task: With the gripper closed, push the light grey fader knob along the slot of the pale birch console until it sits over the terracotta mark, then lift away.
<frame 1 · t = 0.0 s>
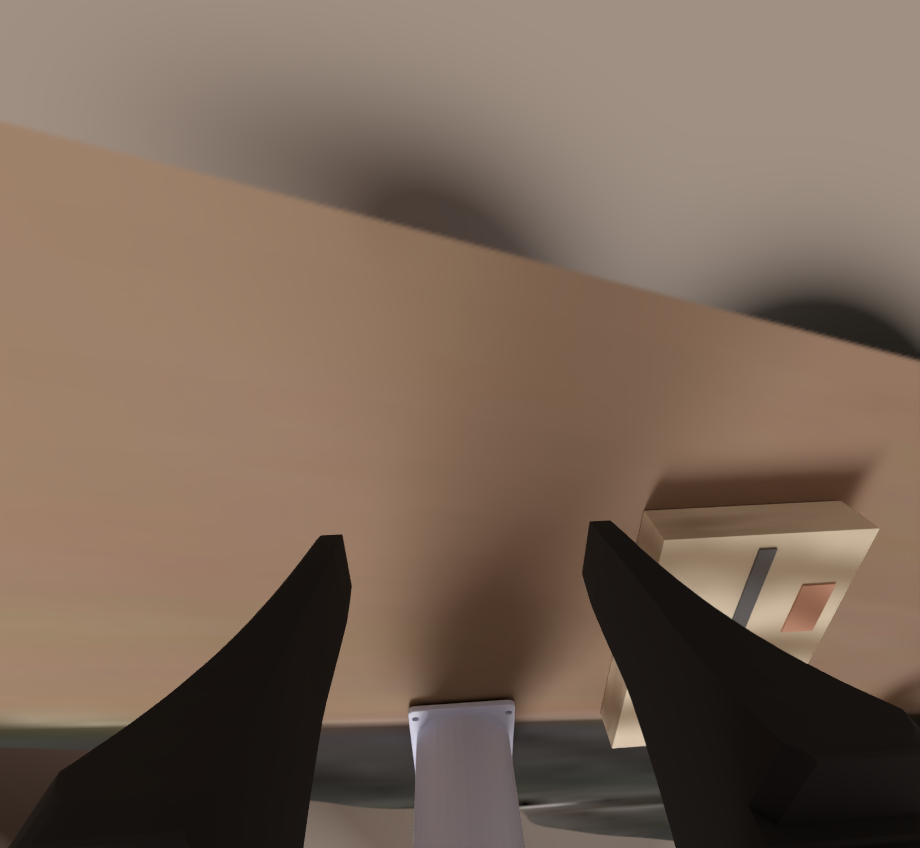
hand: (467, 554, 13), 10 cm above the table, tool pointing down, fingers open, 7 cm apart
console: (703, 621, 30), on the table
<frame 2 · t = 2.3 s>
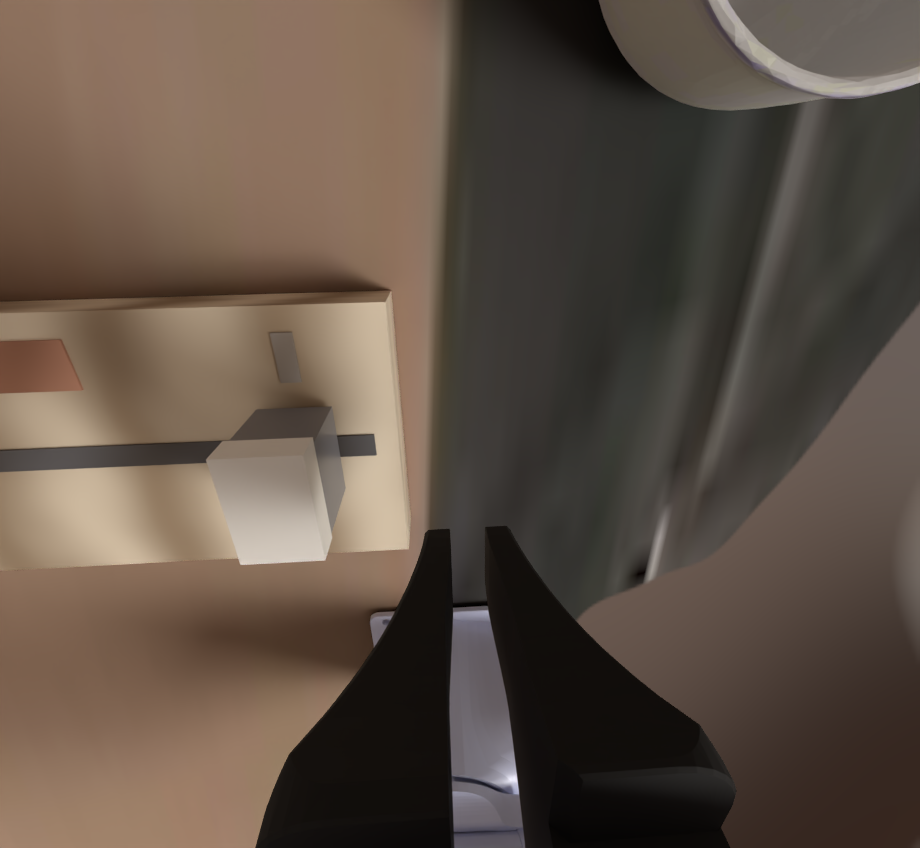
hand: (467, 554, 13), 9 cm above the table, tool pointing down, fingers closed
console: (191, 426, 21), on the table
fader: (288, 478, 16), point 5 cm above the table, slide at 0.0 cm
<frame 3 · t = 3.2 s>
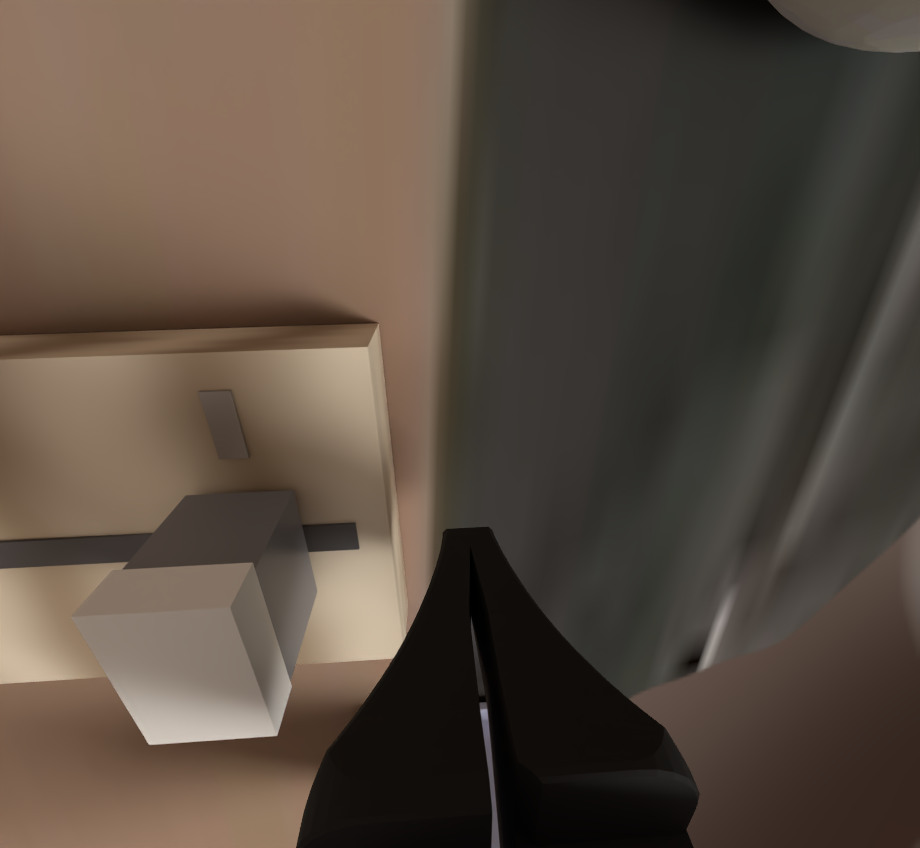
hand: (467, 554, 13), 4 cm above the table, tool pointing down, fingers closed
console: (113, 500, 15), on the table
fader: (226, 603, 11), point 5 cm above the table, slide at 0.0 cm
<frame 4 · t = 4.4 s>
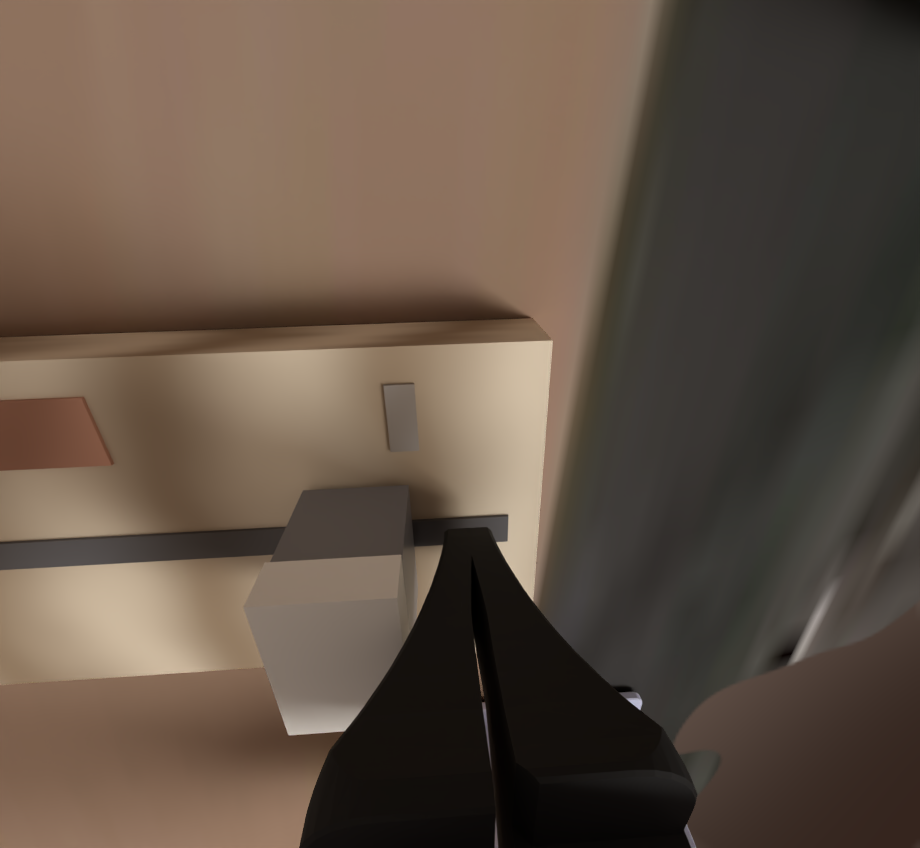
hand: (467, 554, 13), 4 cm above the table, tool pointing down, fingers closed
console: (248, 495, 16), on the table
fader: (353, 596, 11), point 5 cm above the table, slide at 1.5 cm, touching gripper
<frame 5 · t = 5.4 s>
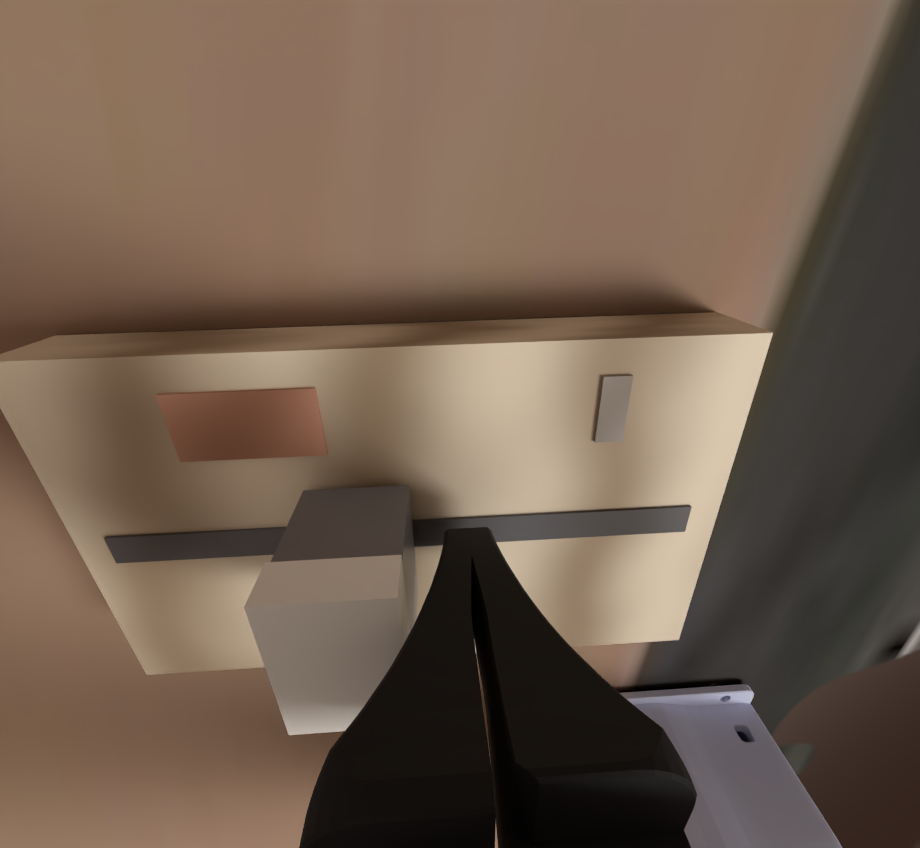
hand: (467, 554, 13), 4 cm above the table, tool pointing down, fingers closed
console: (410, 486, 16), on the table
fader: (353, 596, 11), point 5 cm above the table, slide at 7.3 cm, touching gripper
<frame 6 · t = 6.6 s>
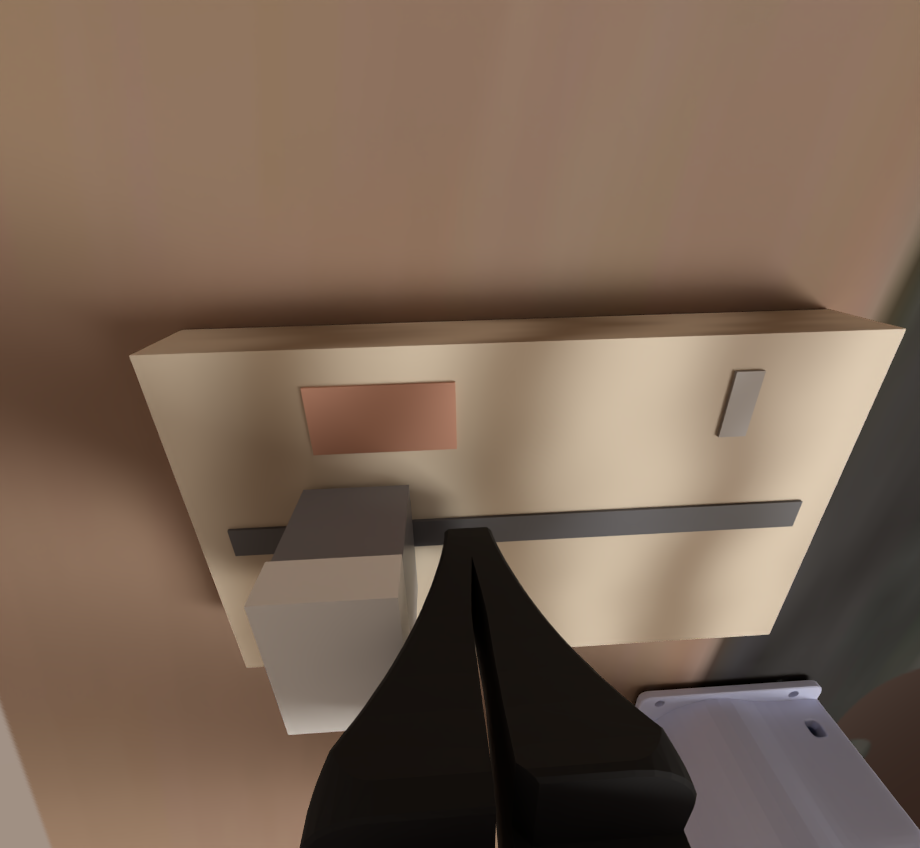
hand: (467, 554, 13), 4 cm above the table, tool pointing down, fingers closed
console: (509, 481, 16), on the table
fader: (353, 596, 11), point 5 cm above the table, slide at 10.9 cm, touching gripper
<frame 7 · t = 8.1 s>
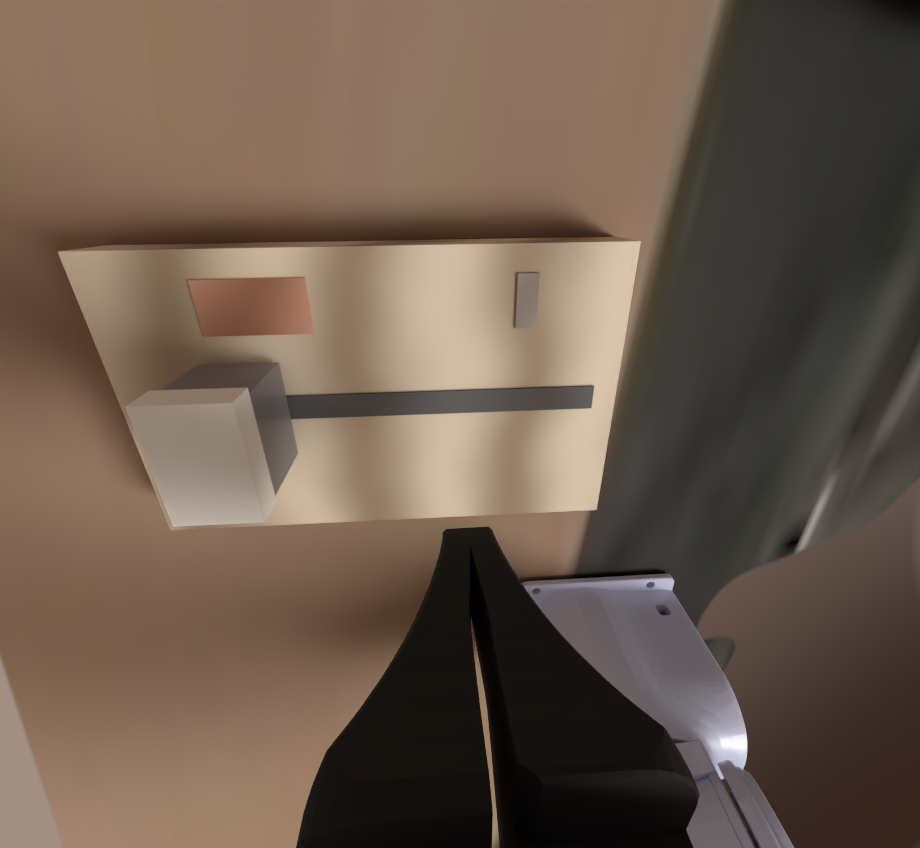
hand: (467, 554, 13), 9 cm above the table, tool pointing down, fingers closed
console: (382, 381, 20), on the table
fader: (228, 436, 15), point 5 cm above the table, slide at 10.9 cm
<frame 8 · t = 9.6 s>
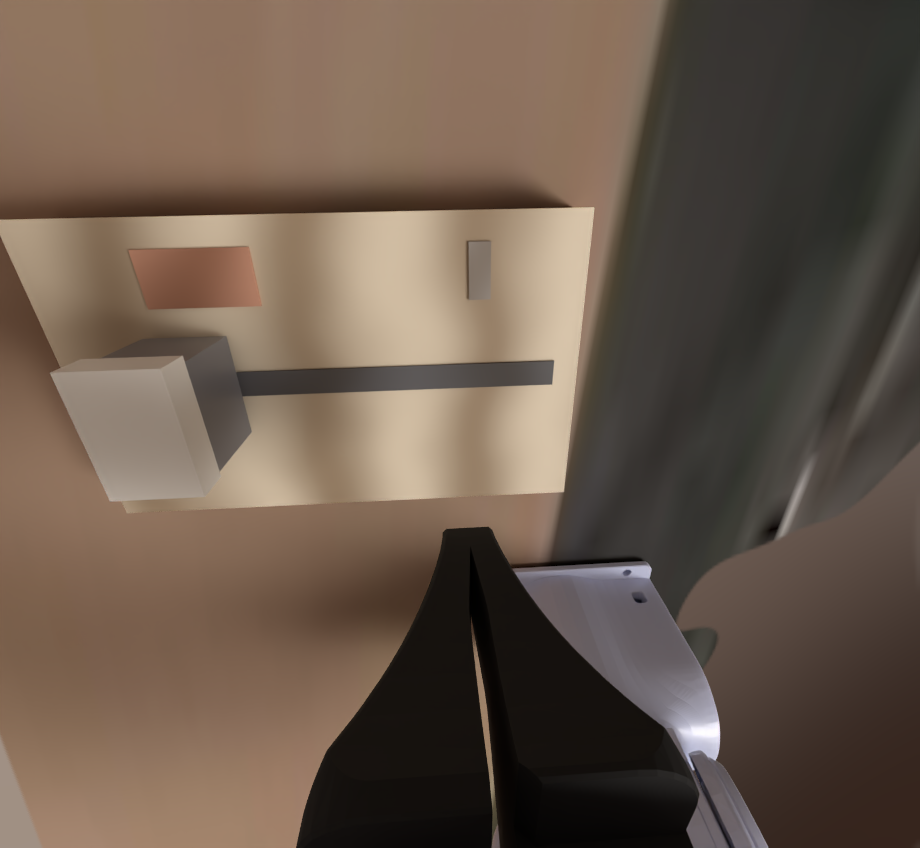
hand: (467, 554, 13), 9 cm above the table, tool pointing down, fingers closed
console: (341, 360, 19), on the table
fader: (171, 410, 15), point 5 cm above the table, slide at 10.9 cm
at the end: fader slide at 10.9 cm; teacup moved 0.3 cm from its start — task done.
